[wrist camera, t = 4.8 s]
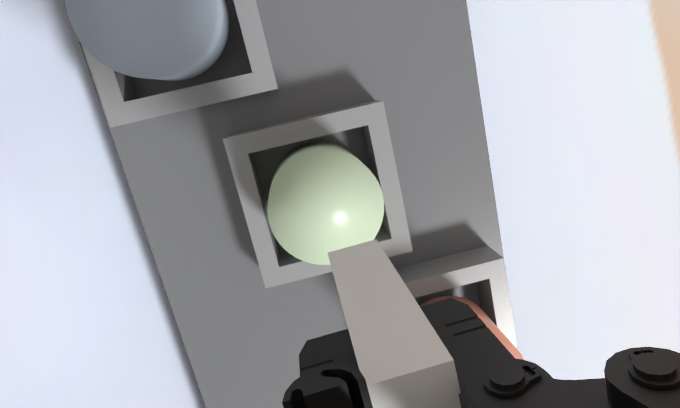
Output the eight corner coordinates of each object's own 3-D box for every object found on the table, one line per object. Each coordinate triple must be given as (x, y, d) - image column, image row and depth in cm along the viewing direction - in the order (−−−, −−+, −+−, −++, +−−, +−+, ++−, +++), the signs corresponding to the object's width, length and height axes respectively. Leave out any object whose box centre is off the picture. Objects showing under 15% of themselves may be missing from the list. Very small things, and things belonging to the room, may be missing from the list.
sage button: (284, 248, 22) (284, 277, 18) (258, 154, 21) (253, 167, 17) (377, 224, 22) (394, 249, 19) (357, 131, 21) (371, 138, 17)
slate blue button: (130, 92, 18) (93, 92, 15) (89, -31, 17) (41, -61, 14) (243, 66, 18) (232, 60, 15) (210, -57, 17) (191, -92, 14)
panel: (240, 468, 27) (233, 528, 23) (40, -125, 19) (-17, -175, 16) (510, 394, 28) (544, 441, 24) (418, -201, 20) (447, -266, 17)
